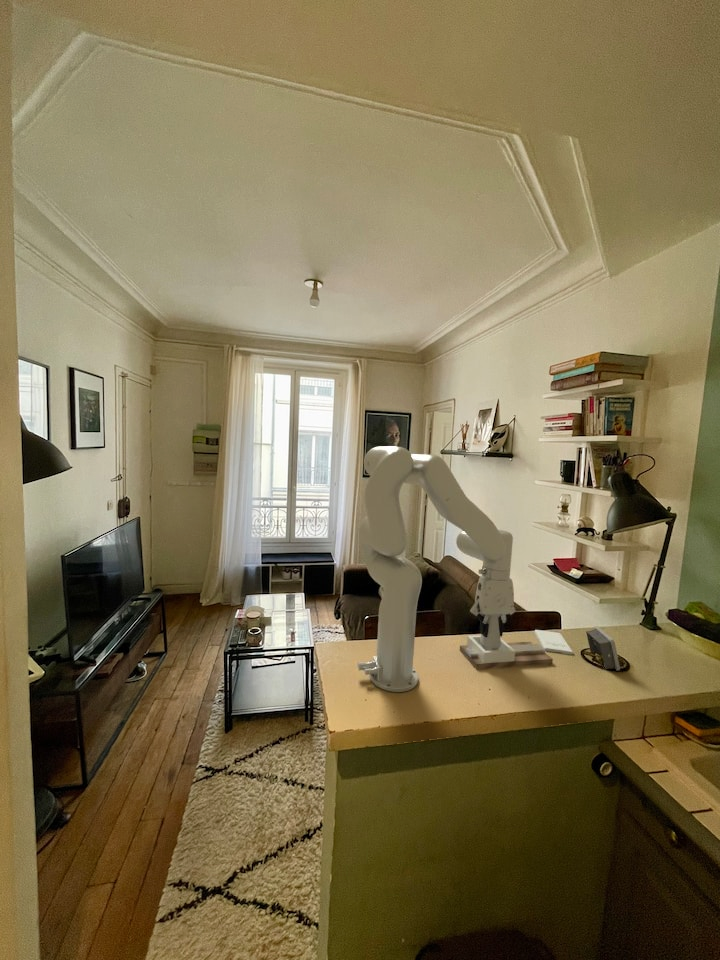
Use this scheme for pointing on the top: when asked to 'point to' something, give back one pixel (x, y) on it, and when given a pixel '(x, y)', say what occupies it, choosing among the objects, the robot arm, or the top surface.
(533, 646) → the rail
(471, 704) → the top surface
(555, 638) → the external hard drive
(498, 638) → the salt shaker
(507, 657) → the white square tray
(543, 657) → the rail board
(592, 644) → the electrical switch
